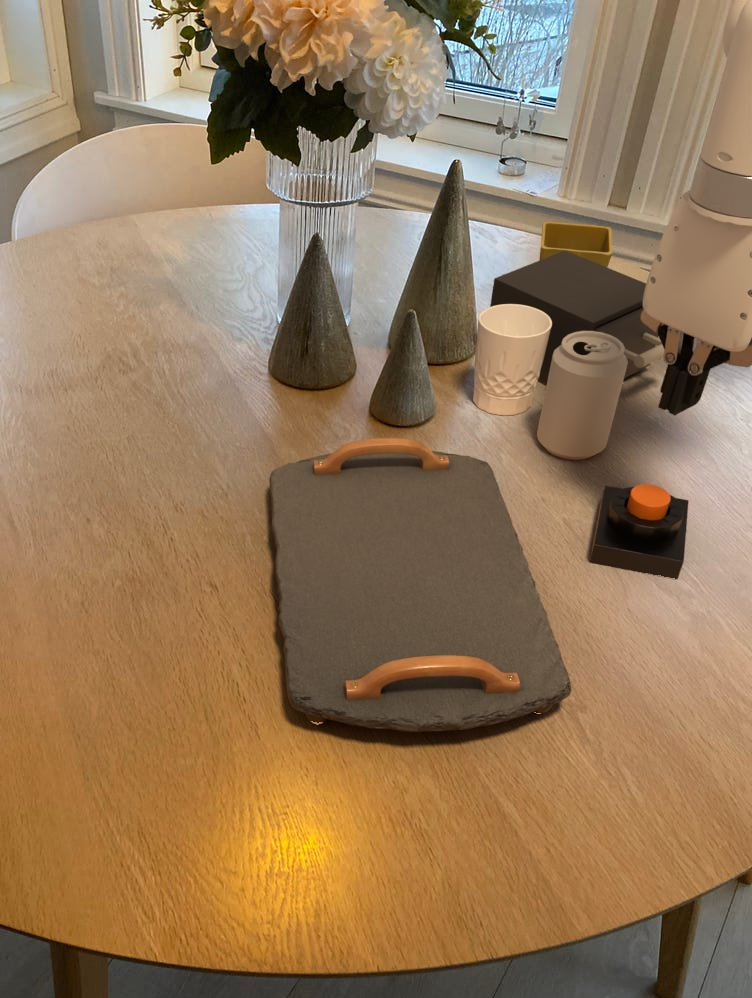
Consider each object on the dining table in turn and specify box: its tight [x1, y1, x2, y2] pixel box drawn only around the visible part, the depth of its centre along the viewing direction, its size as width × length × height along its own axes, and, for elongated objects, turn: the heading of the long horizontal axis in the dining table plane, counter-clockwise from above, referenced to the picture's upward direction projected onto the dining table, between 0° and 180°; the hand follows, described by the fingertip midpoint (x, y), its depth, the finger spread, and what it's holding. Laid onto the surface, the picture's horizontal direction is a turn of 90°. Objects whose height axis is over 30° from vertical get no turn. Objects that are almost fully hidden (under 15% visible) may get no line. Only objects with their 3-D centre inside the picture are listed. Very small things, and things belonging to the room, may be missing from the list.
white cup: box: [472, 304, 552, 416], centre depth 112 cm, size 8×8×10 cm
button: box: [627, 483, 671, 520], centre depth 93 cm, size 4×4×2 cm
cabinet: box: [489, 251, 647, 386], centre depth 119 cm, size 15×13×10 cm
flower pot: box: [538, 221, 613, 268], centre depth 130 cm, size 9×9×9 cm
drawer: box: [595, 306, 665, 379], centre depth 116 cm, size 18×11×8 cm, turn 38°
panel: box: [589, 485, 689, 580], centre depth 95 cm, size 10×8×4 cm
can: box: [536, 331, 628, 461], centre depth 104 cm, size 8×8×12 cm
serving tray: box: [268, 437, 572, 733], centre depth 89 cm, size 39×23×6 cm, turn 3°
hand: (676, 406), depth 86 cm, fingers closed
